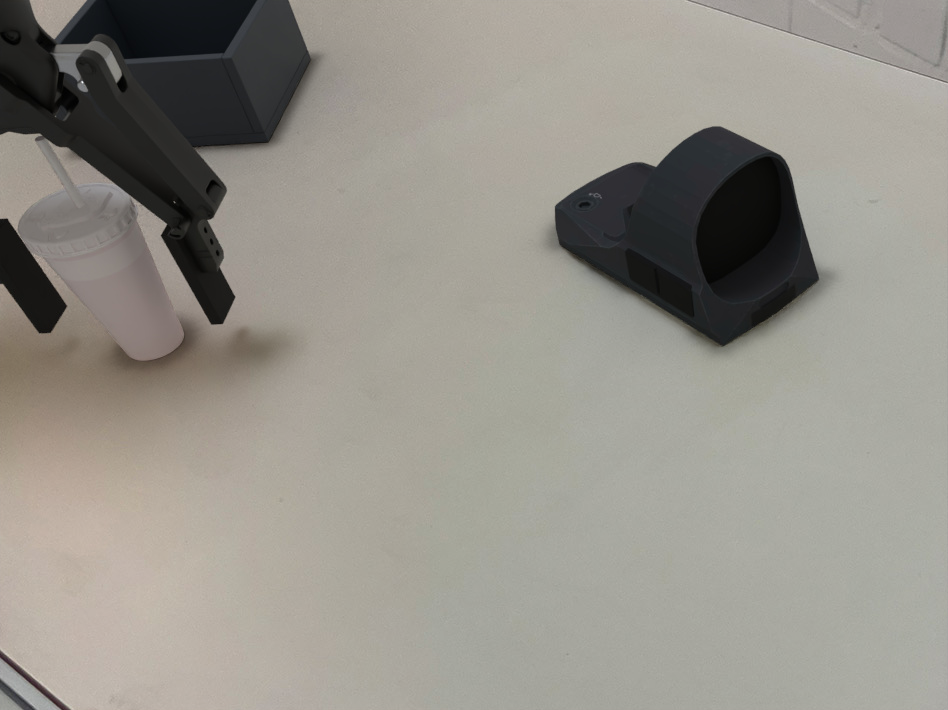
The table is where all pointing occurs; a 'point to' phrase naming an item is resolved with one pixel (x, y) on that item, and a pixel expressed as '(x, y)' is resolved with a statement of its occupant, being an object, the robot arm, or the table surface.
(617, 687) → the table surface
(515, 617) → the table surface
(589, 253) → the sight
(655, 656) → the table surface
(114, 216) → the smoothie
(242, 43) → the bin
